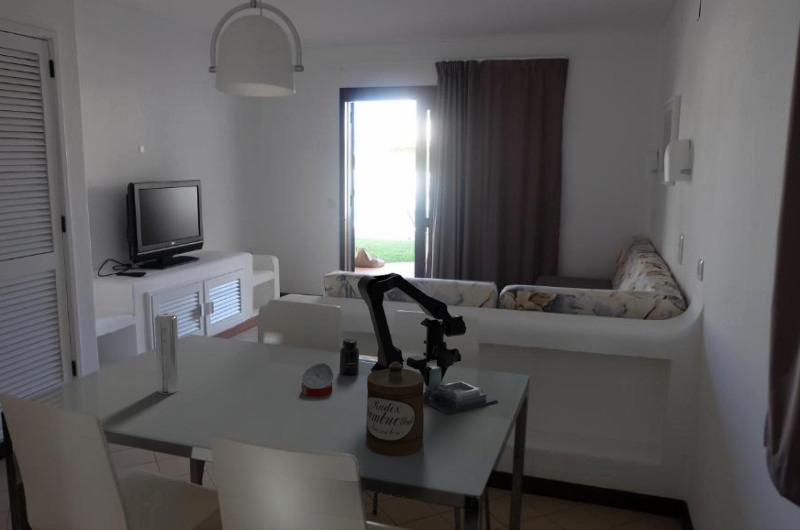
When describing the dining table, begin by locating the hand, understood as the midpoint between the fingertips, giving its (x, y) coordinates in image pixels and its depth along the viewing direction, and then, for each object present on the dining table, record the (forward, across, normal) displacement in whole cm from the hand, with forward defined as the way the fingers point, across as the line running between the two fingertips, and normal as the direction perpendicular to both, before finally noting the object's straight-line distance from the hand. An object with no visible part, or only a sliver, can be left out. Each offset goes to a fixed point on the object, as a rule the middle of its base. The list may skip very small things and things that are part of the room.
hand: (433, 384), depth 201 cm
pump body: (+2, 0, 0) cm, 2 cm away
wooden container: (+2, -34, -28) cm, 44 cm away
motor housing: (+2, 0, -13) cm, 13 cm away
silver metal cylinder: (+2, -74, +42) cm, 85 cm away
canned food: (+2, -34, +17) cm, 38 cm away
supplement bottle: (+2, -16, +28) cm, 32 cm away
